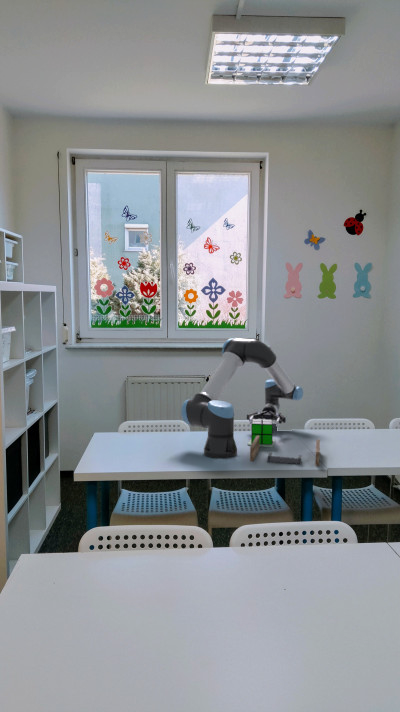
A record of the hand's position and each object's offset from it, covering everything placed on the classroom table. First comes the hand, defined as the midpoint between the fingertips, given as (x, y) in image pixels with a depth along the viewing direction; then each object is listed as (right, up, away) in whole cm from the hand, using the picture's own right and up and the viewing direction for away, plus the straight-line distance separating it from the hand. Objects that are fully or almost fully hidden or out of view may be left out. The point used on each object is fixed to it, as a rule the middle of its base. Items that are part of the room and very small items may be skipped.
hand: (263, 422), depth 252 cm
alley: (+6, -11, -30) cm, 32 cm away
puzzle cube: (-2, -8, -9) cm, 12 cm away
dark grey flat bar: (+4, -12, -37) cm, 39 cm away
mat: (-2, -9, -9) cm, 12 cm away
